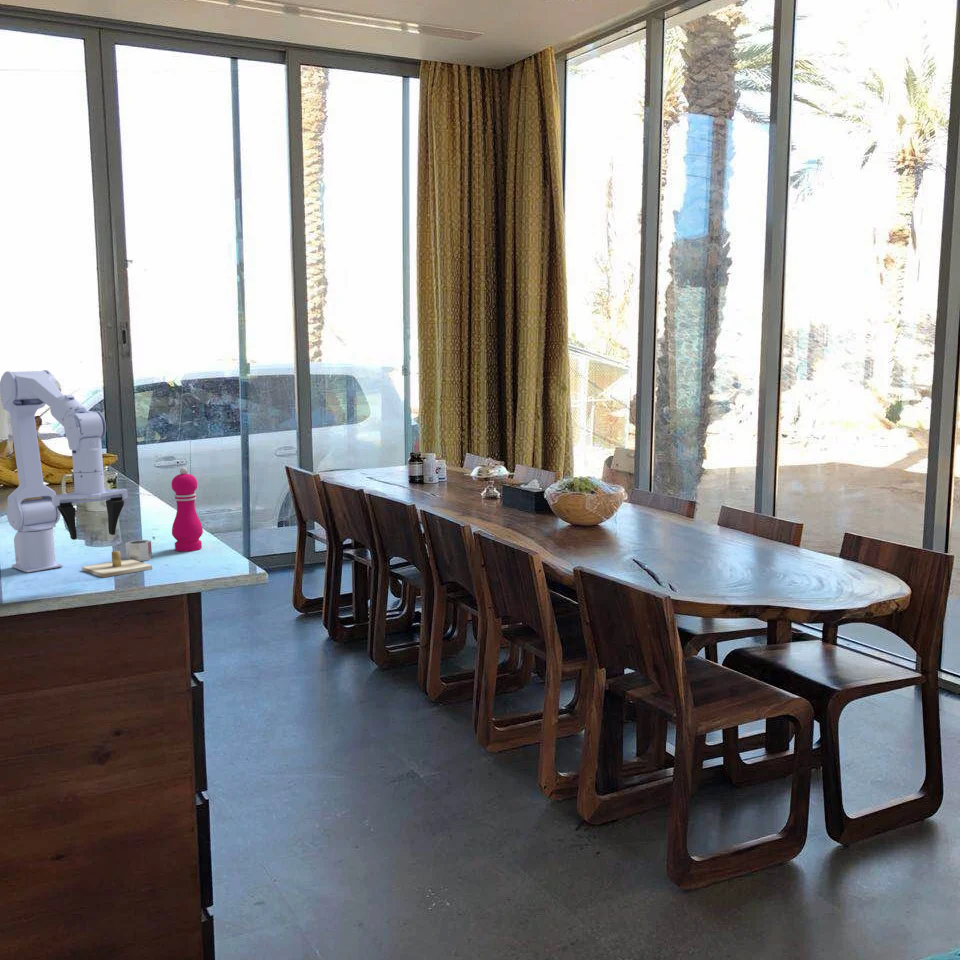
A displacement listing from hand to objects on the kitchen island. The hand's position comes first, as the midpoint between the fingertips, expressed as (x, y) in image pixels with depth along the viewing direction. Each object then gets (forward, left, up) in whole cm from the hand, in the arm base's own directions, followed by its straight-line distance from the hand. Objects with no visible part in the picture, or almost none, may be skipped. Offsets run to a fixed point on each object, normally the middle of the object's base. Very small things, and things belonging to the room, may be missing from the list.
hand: (93, 536), depth 204 cm
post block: (-10, +9, -10) cm, 17 cm away
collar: (-17, +17, -10) cm, 26 cm away
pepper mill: (-19, +31, -10) cm, 38 cm away
